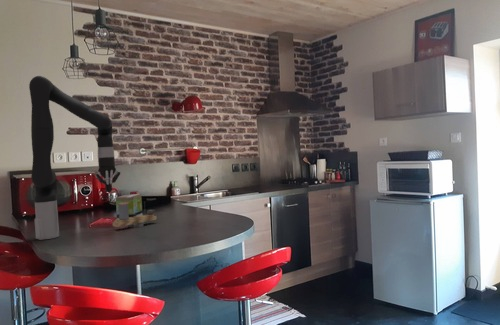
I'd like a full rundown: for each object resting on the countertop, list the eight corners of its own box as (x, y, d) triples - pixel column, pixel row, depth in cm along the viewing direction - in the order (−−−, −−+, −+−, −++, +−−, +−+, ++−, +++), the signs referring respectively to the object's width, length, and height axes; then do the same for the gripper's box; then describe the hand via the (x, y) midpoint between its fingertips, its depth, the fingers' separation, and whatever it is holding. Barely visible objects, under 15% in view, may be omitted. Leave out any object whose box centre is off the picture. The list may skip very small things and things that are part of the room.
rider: (123, 221, 194) (122, 203, 193) (119, 220, 196) (118, 203, 196) (129, 220, 196) (128, 202, 196) (125, 219, 199) (123, 202, 199)
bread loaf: (118, 231, 190) (117, 216, 190) (112, 229, 195) (111, 215, 195) (157, 223, 206) (156, 210, 206) (150, 222, 211) (149, 209, 211)
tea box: (135, 223, 210) (133, 196, 210) (116, 224, 211) (114, 197, 210) (143, 218, 226) (141, 193, 225) (125, 219, 226) (124, 194, 225)
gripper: (96, 157, 183) (99, 193, 183) (122, 155, 192) (125, 190, 193) (89, 157, 188) (92, 193, 189) (115, 156, 198) (117, 190, 198)
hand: (108, 192), depth 191 cm, fingers closed
